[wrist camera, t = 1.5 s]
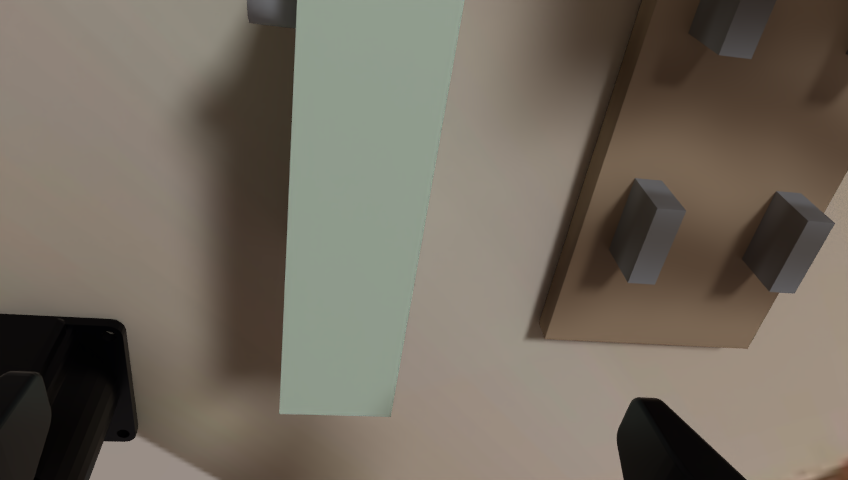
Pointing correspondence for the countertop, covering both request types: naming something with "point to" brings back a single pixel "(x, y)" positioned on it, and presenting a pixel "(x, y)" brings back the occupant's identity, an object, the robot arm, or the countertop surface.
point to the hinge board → (707, 174)
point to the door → (357, 189)
